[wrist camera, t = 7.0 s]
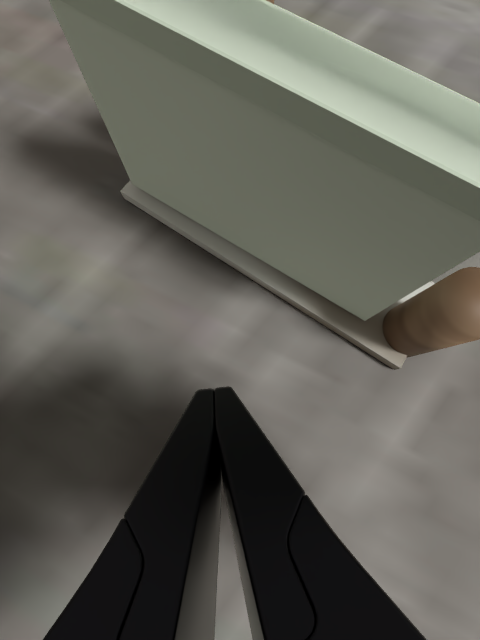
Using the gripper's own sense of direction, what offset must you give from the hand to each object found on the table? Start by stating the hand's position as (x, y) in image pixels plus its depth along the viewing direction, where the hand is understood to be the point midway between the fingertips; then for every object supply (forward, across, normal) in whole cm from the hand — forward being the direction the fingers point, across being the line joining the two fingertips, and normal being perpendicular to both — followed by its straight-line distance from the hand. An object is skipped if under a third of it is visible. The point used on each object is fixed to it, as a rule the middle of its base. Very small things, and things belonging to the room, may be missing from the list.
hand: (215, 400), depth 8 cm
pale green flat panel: (+9, -2, -1) cm, 10 cm away
